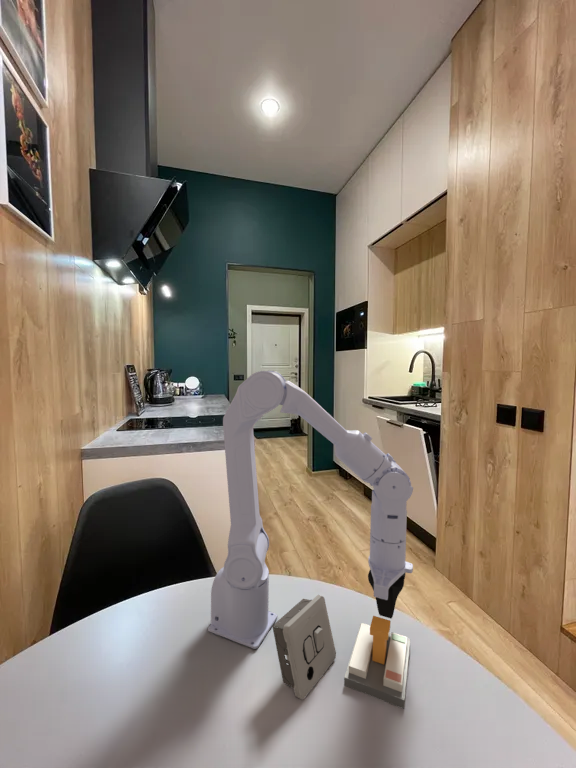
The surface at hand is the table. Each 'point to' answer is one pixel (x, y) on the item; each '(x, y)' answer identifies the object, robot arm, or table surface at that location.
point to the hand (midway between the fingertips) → (385, 614)
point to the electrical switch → (304, 644)
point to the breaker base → (379, 668)
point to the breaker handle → (379, 638)
